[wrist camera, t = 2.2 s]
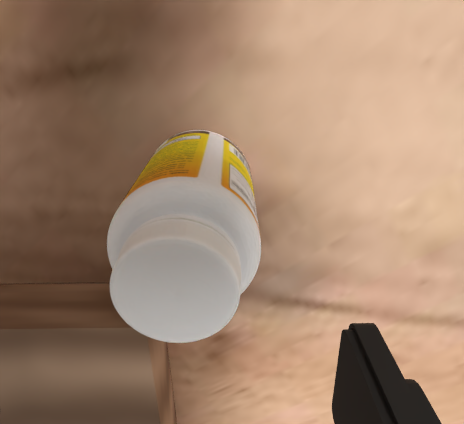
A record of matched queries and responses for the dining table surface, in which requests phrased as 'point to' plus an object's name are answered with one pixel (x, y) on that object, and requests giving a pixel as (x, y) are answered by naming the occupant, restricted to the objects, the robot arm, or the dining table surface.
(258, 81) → the dining table surface
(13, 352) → the walnut base
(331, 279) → the dining table surface
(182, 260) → the supplement bottle
